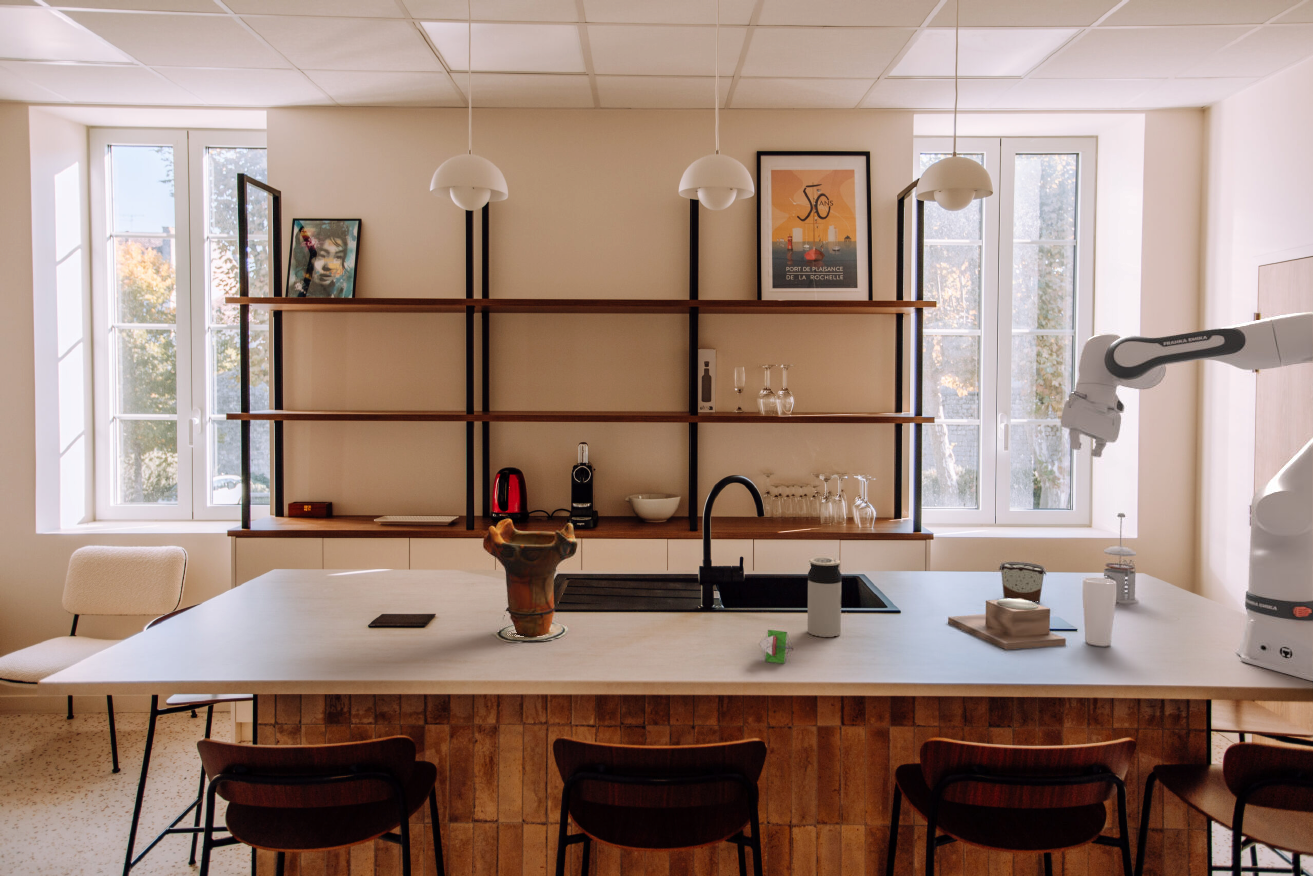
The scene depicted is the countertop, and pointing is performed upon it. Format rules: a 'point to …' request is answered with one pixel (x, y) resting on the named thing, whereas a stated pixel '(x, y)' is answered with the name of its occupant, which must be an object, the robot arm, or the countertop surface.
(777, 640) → the geometric puzzle
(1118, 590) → the french press
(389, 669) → the countertop surface
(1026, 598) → the food container
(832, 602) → the travel mug
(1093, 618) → the drinking glass
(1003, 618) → the walnut display stand
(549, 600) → the decorative vase
